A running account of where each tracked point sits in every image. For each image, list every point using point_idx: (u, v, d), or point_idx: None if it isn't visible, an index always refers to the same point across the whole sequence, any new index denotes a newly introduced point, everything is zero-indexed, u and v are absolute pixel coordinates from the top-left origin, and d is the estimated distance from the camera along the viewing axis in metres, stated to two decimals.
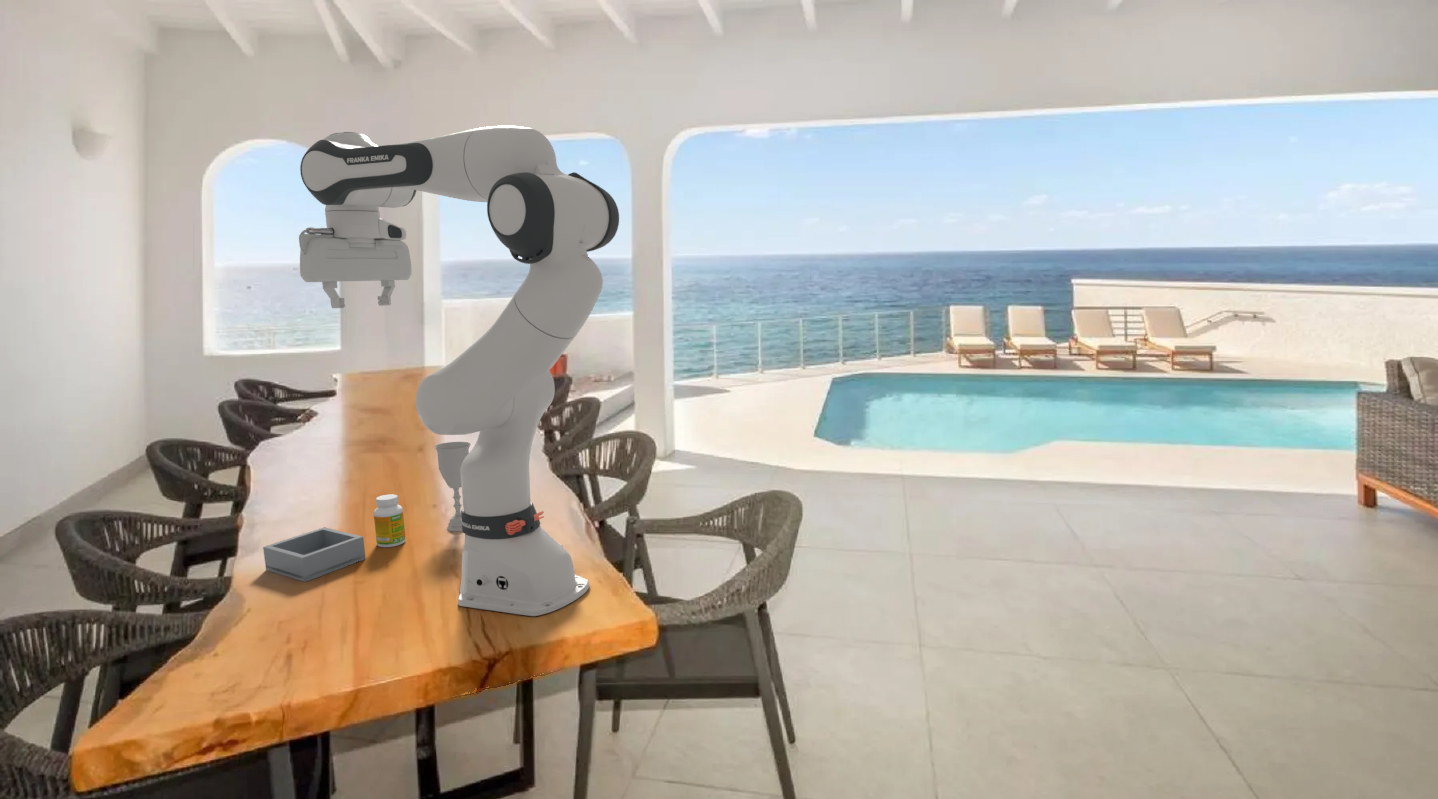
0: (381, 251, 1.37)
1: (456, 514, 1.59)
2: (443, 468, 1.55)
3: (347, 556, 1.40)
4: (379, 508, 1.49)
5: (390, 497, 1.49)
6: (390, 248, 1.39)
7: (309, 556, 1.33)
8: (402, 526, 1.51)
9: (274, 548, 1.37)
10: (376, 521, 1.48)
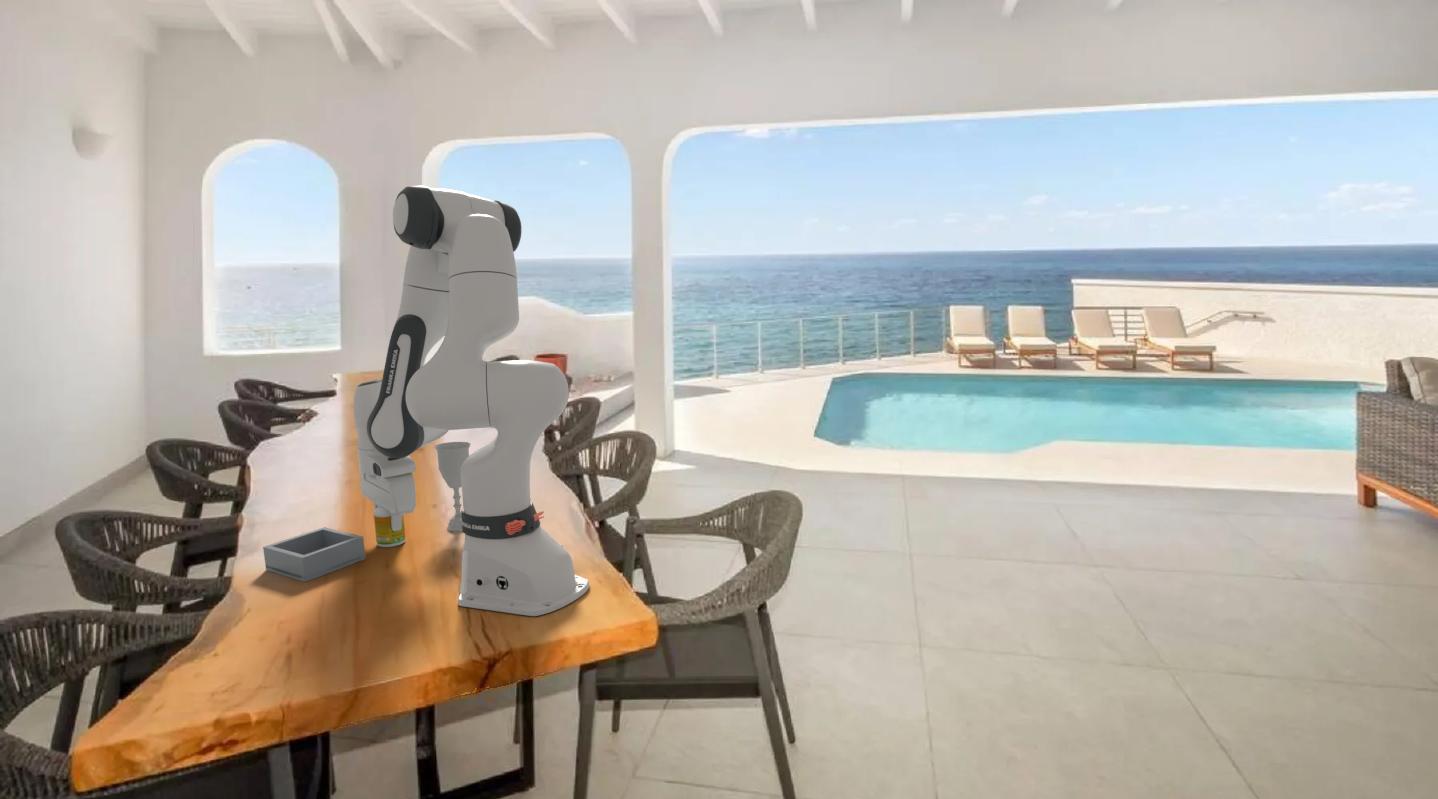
0: (384, 483, 1.45)
1: (456, 514, 1.59)
2: (443, 468, 1.55)
3: (347, 556, 1.40)
4: (379, 508, 1.49)
5: None
6: (385, 483, 1.44)
7: (309, 556, 1.33)
8: (402, 526, 1.51)
9: (274, 548, 1.37)
10: (376, 520, 1.48)
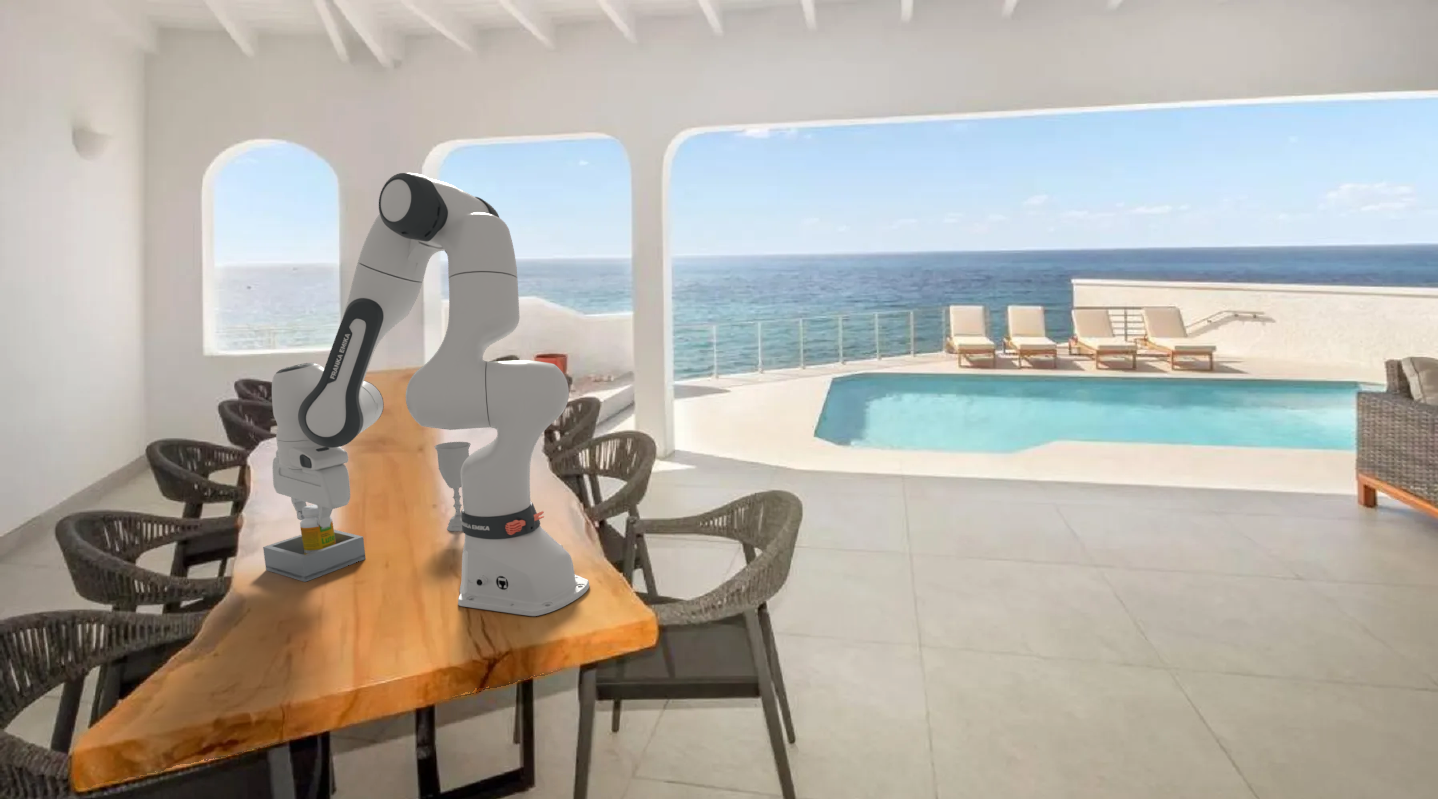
0: (311, 476, 1.35)
1: (456, 514, 1.59)
2: (443, 468, 1.55)
3: (347, 556, 1.40)
4: (306, 519, 1.39)
5: None
6: (314, 476, 1.34)
7: (309, 556, 1.33)
8: (333, 536, 1.41)
9: (274, 548, 1.37)
10: (304, 532, 1.39)
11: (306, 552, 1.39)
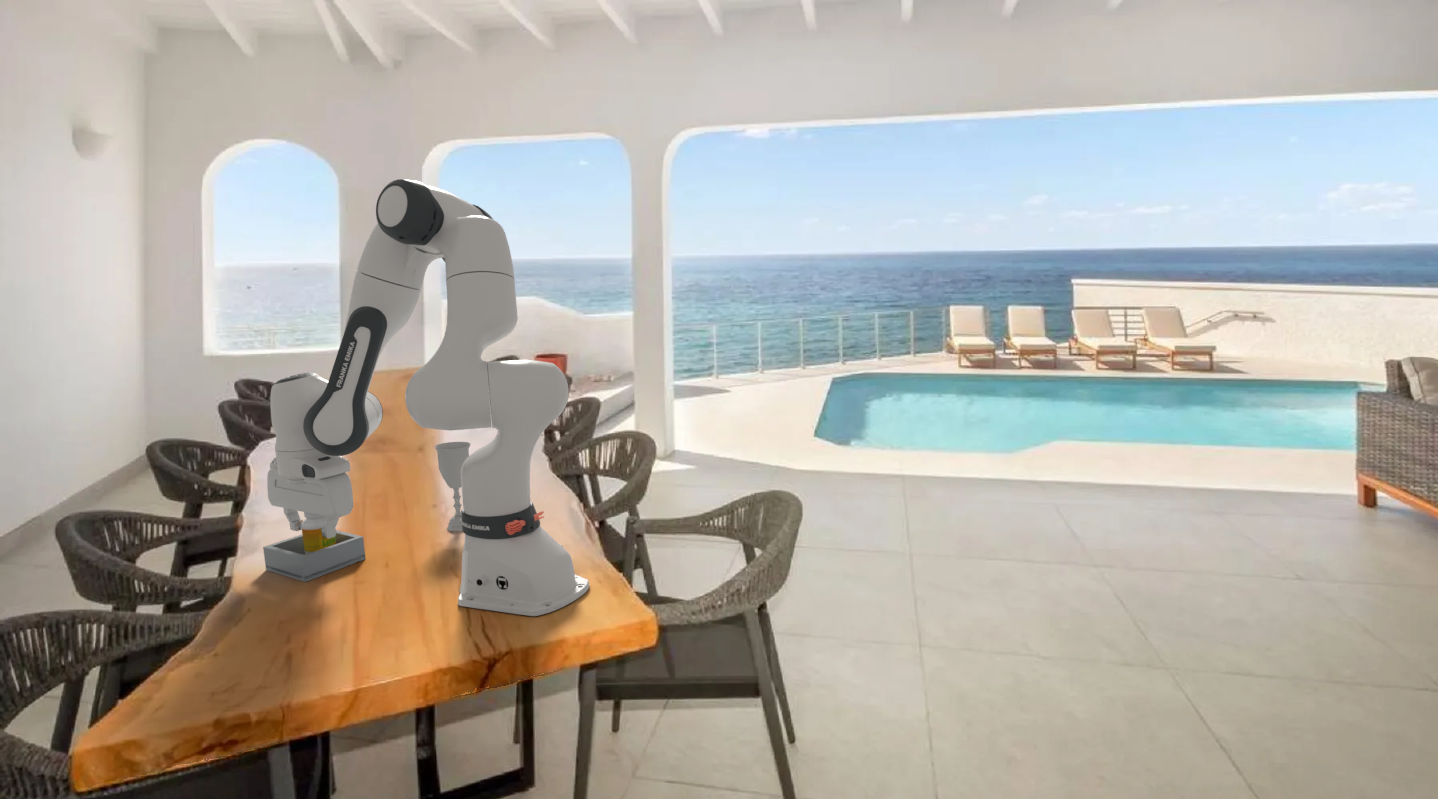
0: (312, 486, 1.35)
1: (456, 514, 1.59)
2: (443, 468, 1.55)
3: (347, 556, 1.40)
4: (308, 520, 1.39)
5: None
6: (316, 485, 1.34)
7: (309, 556, 1.33)
8: (334, 538, 1.41)
9: (274, 548, 1.37)
10: (305, 534, 1.38)
11: (306, 553, 1.39)
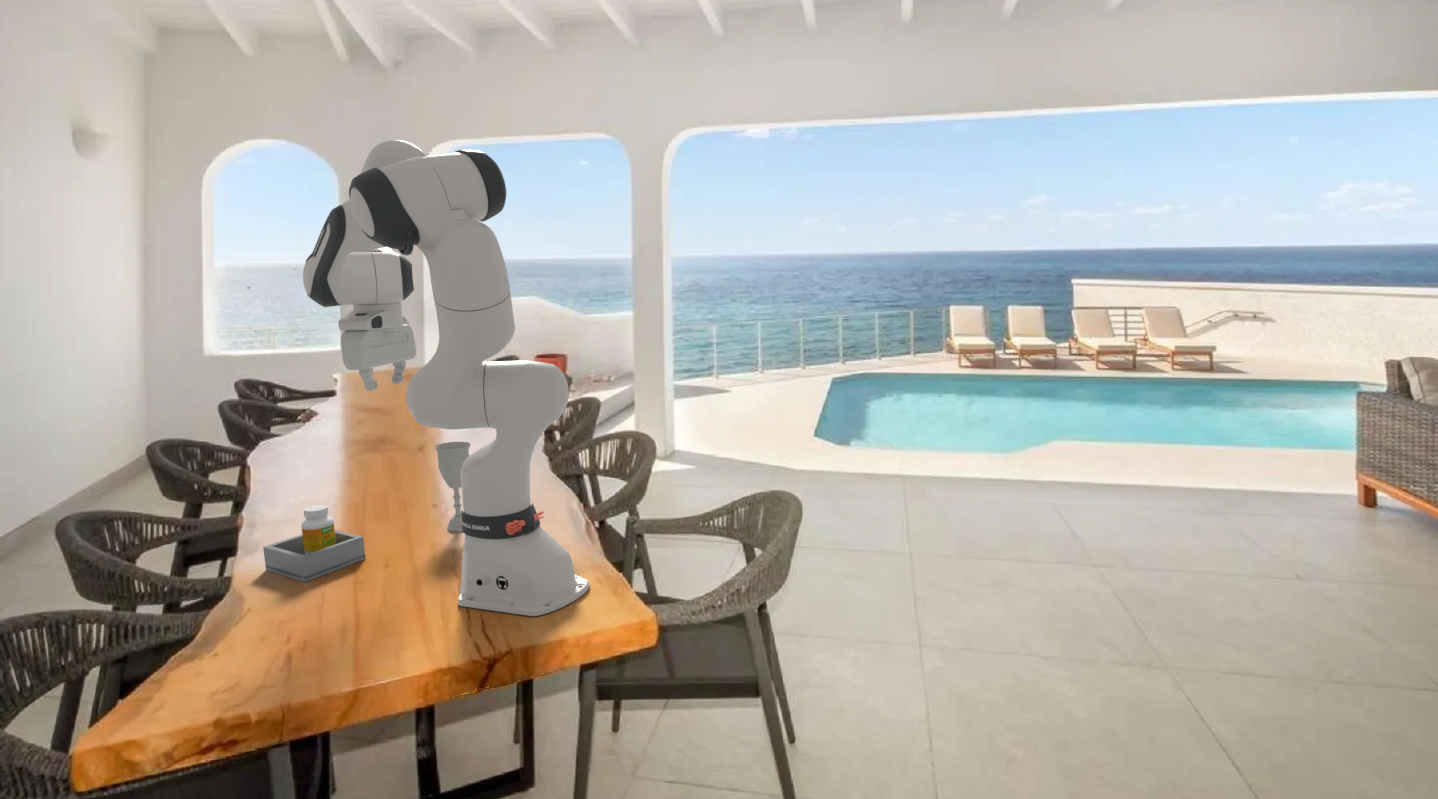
0: None
1: (456, 514, 1.59)
2: (443, 468, 1.55)
3: (347, 556, 1.40)
4: (308, 520, 1.39)
5: (319, 508, 1.40)
6: None
7: (309, 556, 1.33)
8: (333, 538, 1.41)
9: (274, 548, 1.37)
10: (305, 534, 1.38)
11: (306, 553, 1.39)
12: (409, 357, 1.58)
